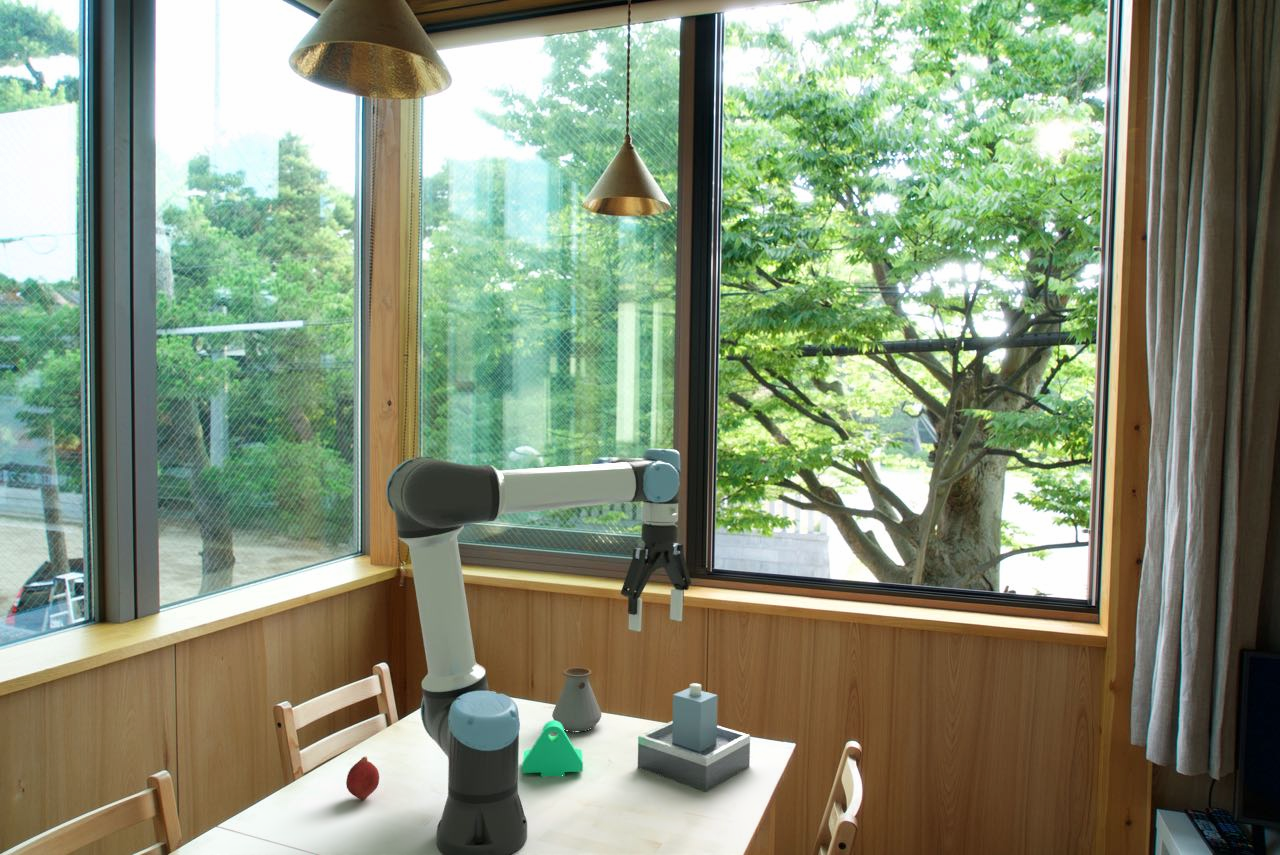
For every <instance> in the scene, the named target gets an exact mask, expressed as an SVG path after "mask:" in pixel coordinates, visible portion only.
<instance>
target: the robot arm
mask: <svg viewBox="0 0 1280 855" xmlns="http://www.w3.org/2000/svg"><path fill="white" fill-rule="evenodd" d="M681 471H682V470H681V455H680V452H679V451H678V450H676V449H670V448H669V449H668V448H646V449H645V451H644V455H643V457H619V456H618V457H617V456H615V457H614V456H606V457H605V456H604V457H597V458H594V460H593V461H592V462H591V464H581V465H566V466H564V465H563V466H547V467H535V468H516V469H514V468H513V469H501V470H498V469H497V468H496V467H495V466H493V465H492V464H486V465H485V464H483V465H474V464H473V465H471V464H463V463H456V462H451V461H448V460H441V459H437V458H434V457H430V456H421V457H419V456H417V457H414V458H409V459H407V460H405V461H403V462H402V463H400V464H399V465H397V466H396V467H395V468H394V470H393V471H391V473H390V475H389V477H388V479H387V483H386V487H385V488H386V489H385V490H386V493H385V496H386V499H387V503H388V506H389V507H390V509H391V511H393V512H394V517H395V518H394V519H395V525H396V526H395V527H396V531H397V537H398V540H400V541H402V542H403V543H405V544H406V545H407V546H408V548H409V555H410V556H409V557H410V563H411V569H412V576H413V583H414V588H415V593H416V594H415V595H416V601H417V608H418V614H419V621H420V626H421V634H422V639H423V647H424V652H425V659H426V665H427V674H426V675H425V677H423V679H422V680H421V690H422V698H421V704H420V717H421V721H422V724H423V727H424V729H425V732H426V733H427V734H428V736H429V737H430V738H431V739H432V740H433V741H434V742H435V743H436V744H437V745H438V746H439V748H440V749H441V751H442V752H443V753H444V754H445V755H446V757H447V759H448V765H447V766H448V771H447V772H448V773H447V776H448V777H447V778H448V779H447V781H448V782H447V784H448V785H447V796H446V801H445V805H444V809H443V812H442V815H441V818H440V820H439V822H438V824H437V827H436V847H437V849H438V851H439V852H440V853H442V854H443V855H512V854H514V853H515V852H517V851H518V850H520V848H523V846H524V845H525V843H526V842H527V839H528V821H527V818H526V816H525V811H524V808H523V805H522V802H521V799H520V795H519V792H518V790H519V789H518V788H519V787H518V783H519V747H520V746H519V744H520V742H519V741H520V730H521V729H520V728H521V727H520V726H521V722H520V716H519V707H518V706H517V704H516V702H515V701H514V700H513V698H511V697H510V696H508V695H506V694H504V693H497V692H496V691H493V690H489V685H488V679H487V673H486V672H487V671H486V669H485V667H484V666H482V665H480V664H478V663H477V661H476V657H475V656H476V655H475V648H474V644H473V643H474V642H473V636H472V628H471V623H470V622H471V621H470V617H469V610H468V602H467V597H466V589H465V583H464V582H465V581H464V575H463V574H464V573H463V568H462V562H461V561H462V560H461V556H460V548H459V540H458V536H459V534H460V533H461V532H462V531H463V529H464V527H465V526H467V525H472V524H473V525H474V524H479V523H480V524H481V523H486V522H487V523H488V522H489V523H491V522H495V521H497V520H498V519H499V518H500V516H502V515H507V514H521V513H530V512H540V511H551V510H562V509H571V508H581V507H591V506H601V505H612V504H613V505H615V504H623V503H638V502H640V503H641V502H642V508H641V521H643V523H642V524H641V532H640V533H641V537H640V539H641V541H643V542H644V547H643V548H640V547H634V548H633V550H632V559H631V563H630V565H629V568H628V571H627V573H626V576H625V578H624V582H623V585H622V588H621V591H620V595H621V596H624V597H626V598H627V599H628V601H627V613H628V630H629V631H630V630H631V631H634V632H639V633H640V632H641V631H642V615H643V612H642V611H643V598H641V597H640V596H642V593H643V591H644V589H645V587H646V585H647V583H648V582H649V580H650V578H651V576H652V574H653V573H654V572H655V571H657V570H659V569H661V568H663V569H664V572H665V573H666V575H667V576H668V579H669V581H670V582H671V584H672V585H673V587H674V588H670V606H669V608H670V609H669V620H673V621H677V622H682V621H683V606H684V605H683V604H684V597H685V595H684V594H685V591H688V590H689V588H690V586H691V585H692V581H691V577H690V573H689V569H688V566H687V563H686V562H687V561H686V558H685V554H684V544H682V543H677V541H678V532H679V531H678V530H679V526H678V525H677V524H676V523H677V522H678V521H679V503H680V502H679V500H680V483H681V479H680V478H681Z"/></svg>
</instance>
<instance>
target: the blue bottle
mask: <svg viewBox="0 0 1280 855" xmlns="http://www.w3.org/2000/svg"><path fill="white" fill-rule="evenodd" d="M718 696H719V695H718V694H715V693H711V692H707V691H704V690H702V684H701V683H695V682H693V683H690V684H689V687H688V688H686V689H683V690H681V691H678V692H676V693H674V694H672V721H673V729H672V743H675V744H678V745H681V746H684V747H687V748H690V749H693V750H696V751H699V752H701V751H702V750H704V749H706V748H708V747H710V746H712V745H714V744H716V743H717V726H718Z"/></svg>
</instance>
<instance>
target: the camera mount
mask: <svg viewBox="0 0 1280 855" xmlns="http://www.w3.org/2000/svg"><path fill="white" fill-rule="evenodd" d="M551 733H556V735H553V736H552V735H550V734H551ZM583 762H584V761H583V751H582V749H580V748H575V746H574V744H573V743H572V741H571V740H570V738H569V736H568V735H567V733H566V731H564V727H563V725H562V724H561V723H560V722H558V721H555V720H554V719H553V720H549V721H547V722H546V723H545V724H544V726H543V727H542V731H541V733H540V735H539V736H538V737H537V739H536V741H535V743H534V744H533V746H532V747H531V748H530V749H526V750H524V751H523V756H522V766H521V768H522V772H521V773H522V774H528V773H536V774H537V773H540V777H541V776H559V777H565V773H573V772H576V773H577V772H583V771H584V770H583V769H584V766H583V765H584V763H583ZM562 775H563V776H562Z"/></svg>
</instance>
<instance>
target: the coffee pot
mask: <svg viewBox="0 0 1280 855" xmlns="http://www.w3.org/2000/svg"><path fill="white" fill-rule="evenodd" d="M562 674H563V676H564V678H565V680H566V681H565V683H564V686H563V688H562V690H561V692H560V695H559V698H558V699H557V701H556V703H555V706H554V709H553V711H552V718H553V720H555V721H558V722H560V723H561V724H562V725H563V727H564V729H565V730H568V731H574V732H573V733H576V732H575V731H585V730H588V729H590V728H592V727H593V728H594V727H595V726H596V725H597V724H598V723H599V722H600V721H601V718H602V711H601V709H600V706H599V704H598V701H597V698H596V695H595V694H594V691H593V688H592V686H591V683H590V681H589V679H590V676H591V675H592V670H591V669H588V668H585V667H570V668H568V669H565V670H563V672H562ZM593 728H592V729H593ZM568 731H567V732H568ZM585 732H586V731H585Z"/></svg>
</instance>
